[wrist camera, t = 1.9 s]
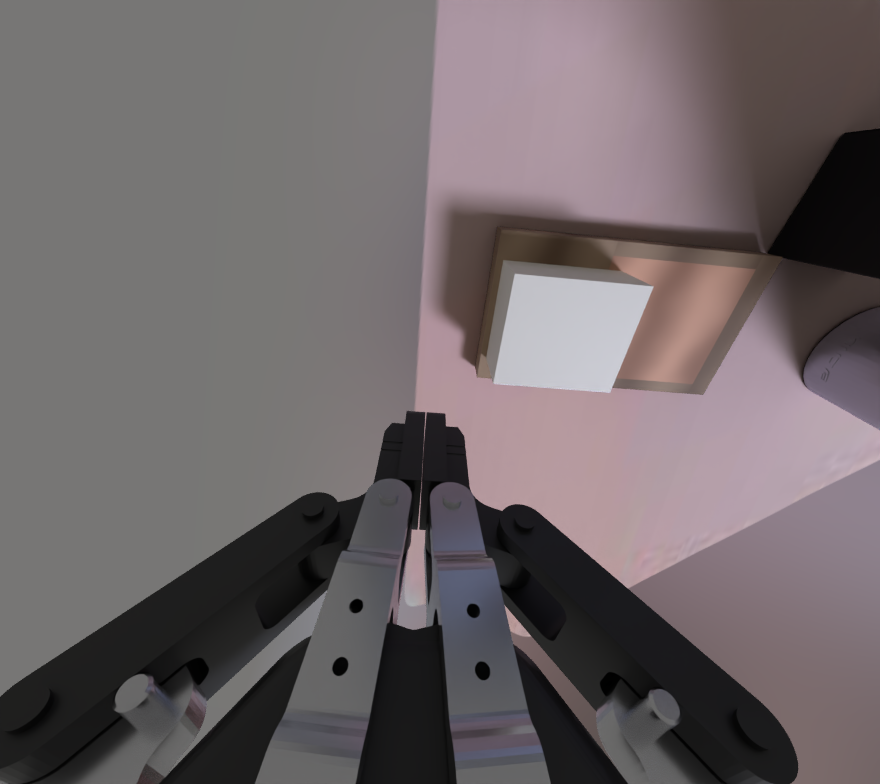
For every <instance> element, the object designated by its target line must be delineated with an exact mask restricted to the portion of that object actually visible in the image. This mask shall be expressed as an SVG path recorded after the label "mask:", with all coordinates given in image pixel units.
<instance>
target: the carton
mask: <svg viewBox="0 0 880 784" xmlns="http://www.w3.org/2000/svg"><path fill="white" fill-rule="evenodd" d="M653 287H654V286H652V285H650V284H648V283H645V282H643V281H641V280H639V279H637V278H635V277H633V276H631V275H629V274H627V273H625V272H622V271H616V270H605V269H594V268H583V267H573V266H562V265H551V264H541V263H530V262H519V261H508V260H503V265H502V270H501V276H500V282H499V288H498V293H497V299H496V305H495V310H494V316H493V322H492V327H491V333H490V339H489V344H488V350H487V356H486V359H487V363H488V366H489V370H490V374H491V377H492V381H493V384H502V385H515V386H529V387H542V388H555V389H568V390H581V391H594V392H607V393H610V392H611V389H612V387H613V384H614V382H615V379H616V377H617V375H618V372H619V370H620V367H621V365H622V362H623V360H624V358H625V355H626V353H627V350H628V348H629V345H630V343H631V341H632V338H633V336H634V333H635V331H636V328H637V326H638V324H639V321H640V319H641V316H642V314H643V311H644V309H645V307H646V304H647V302H648V299H649V297H650V294H651V292H652V290H653Z"/></svg>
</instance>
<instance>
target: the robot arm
mask: <svg viewBox="0 0 880 784" xmlns="http://www.w3.org/2000/svg"><path fill="white" fill-rule="evenodd" d="M803 378H804V382H805V385H806V386H807V388H808V389H809V390H810V391H812V392H813V393H815V394H817V395H818V396H820V397H822V398H824V399H826V400H827V401H829V402H831V403H833V404H834V405H836V406H838V407H840V408H842V409H843V410H845V411H847V412H849V413H851V414H852V415H854V416H855V417H857V418H859V419H861V420H863V421H864V422H866V423H868V424H870V425H872V426H873V427H875V428H877V429H879V430H880V307H877V308H874V309H870V310H868V311H865V312H863V313H860V314H858V315H856V316H854V317H852V318H851V319H849V320H847V321H845V322H844V323H842V324H841V325H839V326H838V327H837V328H835V329H834V330H832V331H831V332H830V333H829V334H828V335H827V336H826V337H825V338H824V339H823V340H821V342H820V343H819V344H818V345H817V346H816V348H815V349H814V350H813V352H812V353H811V355H810V356H809V358H808V360H807V363H806V365H805V368H804V375H803ZM424 427H425V412H414V411H407V414H406V421H405V424H399V423H392V424H391V425H390V426H389V427H388V428H387V429H386V431H385V433H384V438H383V443H382V447H381V452H380V456H379V461H378V466H377V470H376V475H375V480H374V483H373V485H371V486H370V487H369V489H368V490H367V492H366V493H365V494H363V495H361V496H360V497H357V498H354V499H350V500H346V501H341V502H337V500H336V499H335V498H334V497H333V496H331V495H329V494H326V493H320V492H316V493H310V494H307V495H305V496H302V497H301V498H299V499H297V500H296V501H294V502H293V503H291V504H290V505H288V506H287V507H285V508H284V509H282V510H280V511H279V512H277V513H276V514H275V515H273V516H271V517H270V518H268V519H267V520H265V521H264V522H262V523H261V524H259V525H258V526H256V527H255V528H253V529H251V530H250V531H248V532H247V533H245V534H244V535H242V536H241V537H239V538H238V539H236V540H235V541H233V542H232V543H230V544H228V545H227V546H225V547H224V548H222V549H221V550H219V551H218V552H216V553H215V554H214V555H212V556H210V557H209V558H207V559H206V560H204V561H202V562H201V563H199V564H198V565H196V566H195V567H193V568H192V569H190V570H189V571H187V572H186V573H184V574H183V575H181V576H179V577H178V578H176V579H175V580H173V581H172V582H171V583H169V584H167V585H166V586H164V587H163V588H161V589H160V590H158V591H157V592H155V593H153V594H152V595H150V596H149V597H147V598H146V599H144V600H143V601H141V602H140V603H138V604H137V605H135V606H134V607H132V608H131V609H129V610H127V611H126V612H124V613H123V614H122V615H120V616H118V617H117V618H115V619H114V620H112V621H111V622H109V623H108V624H106V625H105V626H103V627H101V628H100V629H98V630H97V631H95V632H94V633H92V634H91V635H89V636H88V637H86V638H85V639H83V640H82V641H80V642H79V643H77V644H75V645H74V646H72V647H71V648H69V649H68V650H66V651H65V652H63V653H62V654H60V655H59V656H57V657H56V658H54V659H52V660H51V661H49V662H48V663H46V664H45V665H43V666H42V667H40V668H39V669H37V670H36V671H34V672H33V673H31V674H30V675H28V676H26V677H25V678H24V679H22V680H21V681H19V682H18V683H16V684H15V685H14V686H12V687H11V688H10V689H9V690H7V691H6V692H5V693H4V694H3V695H2V696H1V697H0V784H790V783H792V782H793V781H794V780H795V778H796V777H797V773H798V761H797V756H796V753H795V750H794V747H793V745H792V743H791V741H790V738H789V737H788V735H787V733H786V732H785V730H784V728H783V727H782V726H781V724H780V723H779V721H778V720H777V719H776V718H775V716H774V715H773V714H772V713H771V712H770V711H769V710H768V709H767V708H766V707H765V706H764V705H763V704H762V703H761V702H760V701H759V700H758V699H756V698H755V697H754V696H753V695H752V694H751V693H749V692H748V691H747V690H746V689H745V688H744V687H742V686H741V685H740V684H739V683H738V682H737V681H735V680H734V679H733V678H732V677H731V676H730V675H728V674H727V673H726V672H725V671H724V670H722V669H721V668H720V667H719V666H718V665H717V664H715V663H714V662H713V661H712V660H711V659H710V658H708V657H707V656H706V655H705V654H703V652H701V651H700V650H699V649H698V648H697V647H696V646H694V645H693V644H692V643H691V642H690V641H688V640H687V639H686V638H685V637H684V636H683V635H681V634H680V633H679V632H678V631H677V630H676V629H674V628H673V627H672V626H671V625H670V624H668V623H667V622H666V621H665V620H664V619H663V618H662V617H660V616H659V615H658V614H657V613H656V612H654V611H653V610H652V609H651V608H650V607H649V606H647V605H646V604H645V603H644V602H643V601H642V600H640V599H639V598H638V597H637V596H636V595H635V594H633V593H632V592H631V591H630V590H629V589H628V588H626V587H625V586H624V585H623V584H622V583H620V582H619V581H618V580H617V579H616V578H615V577H613V576H612V575H611V574H610V573H609V572H608V571H606V570H605V569H604V568H603V567H602V566H601V565H599V564H598V563H597V562H596V561H595V560H594V559H592V558H591V557H590V556H589V555H588V554H586V553H585V552H584V551H583V550H582V549H581V548H579V547H578V546H577V545H576V544H575V543H574V542H572V541H571V540H570V539H569V538H568V537H567V536H565V535H564V534H563V533H562V532H561V531H560V530H558V529H557V528H556V527H555V526H554V525H552V524H551V523H550V522H549V521H548V520H547V519H545V518H544V517H543V516H542V515H541V514H540V513H538V512H537V511H536V510H534V509H533V508H531V507H528V506H525V505H520V504H515V505H511V506H508V507H506V508H505V509H504V510H503V511H500V510H497V509H494V508H491V507H489V506H486V505H484V504H482V503H481V502H479V501H478V500H477V499H476V498H475V497H474V496H473V494H472V492H471V490H470V487H469V478H468V468H467V459H466V449H465V440H464V435H463V434H462V433H461V431H460V430H459V428H458V427H446V418H445V414H444V413H429V412H427V416H426V428H425V440H424ZM423 445H424V453H423ZM422 463H423V471H422ZM421 481H422V489H421ZM420 493H421V508H420V527H419V530H426V532H425V548H424V563H425V586H426V608H427V609H426V612H427V619H426V627H425V628H421V629H417V630H411V629H407V628H405V627H402V626H399V625H397V619H398V610H399V605H400V598H401V592H402V586H403V580H404V574H405V568H406V561H407V555H408V549H409V547H410V543H411V532H412V529H415V530H417V528H418V516H419V505H420ZM326 590H327V593H326V596H325V599H324V602H323V605H322V608H321V611H320V613H319V616H318V619H317V622H316V625H315V628H314V631H313V634H312V636H310V637H308V638H306V639H304V640H303V641H301V642H300V643H298V644H297V645H296V646H294V647H293V648H292V649H290V650H289V651H288V652H287V653H285V654H284V655H283V656H282V657H281V658H280V659H279V660H278V661H277V662H276V664H274V666H272V667H271V668H270V669H269V670H268V672H267V673H266V674H265V675H264V676H263V677H262V678H261V679H260V680H259V681H258V682H257V683H256V684H255V685H254V686H253V687H252V688H251V689H250V690H249V691H248V692H247V693H246V694H245V695H244V696H243V697H242V698H241V699H240V701H238V703H237V704H236V705H235V706H234V707H233V708H232V709H231V710H230V711H229V712H228V713H227V714H226V715H225V716H224V717H223V718H222V719H221V720H220V721H219V722H218V723H217V724H216V726H214V727H213V728H212V730H210V731H209V732H208V734H207V735H206V736H205V737H204V738H203V739H202V740H201V741H200V742H199V743H198V744H197V745H196V746H195V747H194V748H193V749H192V750H191V751H190V752H189V753H188V754H187V755H186V756H185V757H184V758H183V759H182V760H181V761H180V762H179V763H178V765H177V766H176V767H175V768H174V769H173V770H172V771H171V772H170V770H171V768H172V767H173V766H174V764H175V763H176V761H177V760H178V759H179V758H180V756H181V755H182V754H183V753H184V752H185V751H186V750H187V748H188V747H189V746H190V745H191V743H192V742H193V741H194V739H195V737H196V736H197V734H198V732H199V731H200V728H201V726H202V724H203V721H204V718H205V714H206V705H207V703H206V701H207V700H208V699H209V698H211V697H212V696H213V695H214V694H215V693H216V692H217V691H218V690H219V689H220V688H221V687H223V686H224V685H225V684H226V683H227V682H228V681H229V680H230V679H231V678H232V677H233V676H234V675H235V674H236V673H238V672H239V671H240V670H241V669H242V668H243V667H244V666H245V665H246V664H247V663H249V662H250V660H252V659H253V658H254V657H255V656H256V655H257V654H258V653H259V652H260V651H261V650H262V649H264V648H265V647H266V646H267V645H268V644H269V643H270V642H271V641H272V640H273V639H274V638H275V637H277V636H278V635H279V634H280V633H281V632H282V631H283V630H284V629H285V628H286V627H287V626H289V625H290V624H291V623H292V622H293V621H294V620H295V619H296V618H297V617H298V616H299V615H300V614H302V613H303V612H304V611H305V610H306V609H307V608H308V607H309V606H310V605H311V604H312V603H313V602H315V601H316V600H317V599H318V598H319V597H320V596H321V595H322V594H323V593H324V592H325V591H326ZM504 605H505V606H506V607H507V608H508V609H509V611H510V612H511V613H512V614H513V615H514V616H515V618H516V619H517V620H518V621H519V622H520V623H521V624H522V626H523V627H524V628H525V629H526V630H527V631H528V633H529V634H530V635H531V636H532V637H533V638H534V640H535V641H536V642H537V643H538V644H539V645H540V646H541V648H542V649H543V650H544V651H545V652H546V653H547V655H548V656H549V657H550V658H551V659H552V660H553V662H554V663H555V664H556V665H557V666H558V667H559V669H560V670H561V671H562V672H563V673H564V674H565V676H566V677H567V678H568V679H569V680H570V681H571V683H572V684H573V685H574V686H575V687H576V688H577V690H578V691H579V692H580V693H581V694H582V695H583V697H584V698H585V699H586V700H587V701H588V702H589V703H590V705H591V706H592V707H593V708H594V709H595V710H596V712H597V718H596V719H597V728H598V733H599V736H600V739H601V742H602V744H603V746H604V748H605V750H606V752H607V754H608V755H609V757H610V758H611V760H612V761H613V763H614V764H615V766H616V767H617V768H616V767H615V766H614V765H613V764H612V762H611V761H610V759H609V758H608V757H607V756H606V754H605V753H604V752H603V750H602V749H601V748H600V746H599V745H598V744H597V743H596V741H595V740H594V739H593V738H592V736H591V735H590V734H589V732H588V731H587V730H586V728H585V727H584V726H583V725H582V723H581V722H580V721H579V719H578V718H577V717H576V716H575V714H574V713H573V712H572V710H571V709H570V708H569V707H568V705H567V704H566V703H565V701H564V700H563V699H562V698H561V696H560V695H559V694H558V692H557V691H556V690H555V688H554V687H553V686H552V685H551V684H550V682H549V681H548V679H547V678H546V677H545V676H544V674H543V673H542V672H541V670H540V669H539V668H538V667H537V666H536V664H535V663H534V662H533V661H532V660H531V659H530V658H529V657H528V656H527V655H526V654H525V653H524V652H523V651H522V650H520V649H519V648H518V647H517V646H515V645H514V644H513V641H512V637H511V633H510V628H509V624H508V619H507V615H506V611H505V606H504ZM617 769H618V770H617ZM169 772H170V773H169Z"/></svg>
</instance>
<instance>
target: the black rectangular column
mask: <svg viewBox="0 0 880 784" xmlns="http://www.w3.org/2000/svg"><path fill="white" fill-rule="evenodd" d="M768 254H771V255H776V256H780V257H783V258H786V259H790V260H795V261H800V262H804V263H809V264H813V265H818V266H823V267H827V268H832V269H837V270H841V271H846V272H851V273H855V274H860V275H864V276H869V277H874V278H878V279H880V129H872V130H864V131H856V132H848V133H844V134H843V135H842V136H841V137H840V139H839V140H838V142H837V144H836V145H835V147H834V148H833V150H832V152H831V153H830V155H829V156H828V158H827V160H826V161H825V163H824V164H823V166H822V168H821V169H820V171H819V172H818V174H817V176H816V177H815V179H814V180H813V182H812V184H811V185H810V187H809V188H808V190H807V192H806V193H805V195H804V196H803V198H802V200H801V201H800V203H799V204H798V206H797V208H796V209H795V211H794V212H793V214H792V216H791V217H790V219H789V220H788V222H787V224H786V225H785V227H784V228H783V230H782V232H781V233H780V235H779V236H778V238H777V240H776V241H775V243H774V244H773V246H772V248H771V249H770V251H769V252H768Z"/></svg>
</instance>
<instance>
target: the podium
mask: <svg viewBox="0 0 880 784" xmlns="http://www.w3.org/2000/svg"><path fill="white" fill-rule="evenodd" d="M782 258H783V257H780V256H776V255H771V254H766V253H762V252H752V251H741V250H731V249H721V248H711V247H701V246H690V245H680V244H670V243H660V242H649V241H639V240H629V239H619V238H609V237H598V236H588V235H578V234H568V233H557V232H547V231H537V230H527V229H517V228H506V227H497V233H496V239H495V245H494V252H493V258H492V264H491V270H490V277H489V283H488V289H487V296H486V302H485V308H484V314H483V321H482V327H481V333H480V339H479V346H478V352H477V358H476V365H475V369H476V374H477V377H479V378H492V377H491V374H490V370H489V366H488V363H487V359H486V356H487V350H488V344H489V339H490V333H491V327H492V322H493V316H494V310H495V305H496V299H497V293H498V288H499V282H500V276H501V270H502V265H503V260H508V261H519V262H530V263H541V264H551V265H562V266H573V267H583V268H594V269H605V270H616V271H622V272H625V273H627V274H629V275H631V276H633V277H635V278H637V279H639V280H641V281H643V282H645V283H648V284H650V285H652V286H654V287H653V290H652V292H651V294H650V297H649V299H648V302H647V304H646V307H645V309H644V311H643V314H642V316H641V319H640V321H639V324H638V326H637V328H636V331H635V333H634V336H633V338H632V341H631V343H630V345H629V348H628V350H627V353H626V355H625V358H624V360H623V362H622V365H621V367H620V370H619V372H618V375H617V377H616V379H615V382H614V384H613V387H612V388H622V389H635V390H648V391H661V392H674V393H687V394H700V395H703V394H704V392H705V390H706V389H707V387H708V385H709V384H710V382H711V380H712V378H713V377H714V375H715V373H716V372H717V370H718V368H719V366H720V365H721V363H722V361H723V360H724V358H725V356H726V354H727V353H728V351H729V349H730V347H731V346H732V344H733V342H734V341H735V339H736V337H737V335H738V334H739V332H740V330H741V329H742V327H743V325H744V323H745V322H746V320H747V318H748V317H749V315H750V313H751V311H752V310H753V308H754V306H755V305H756V303H757V301H758V299H759V298H760V296H761V294H762V293H763V291H764V289H765V287H766V286H767V284H768V282H769V281H770V279H771V277H772V275H773V274H774V272H775V270H776V269H777V267H778V265H779V263H780V262H781V260H782Z"/></svg>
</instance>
